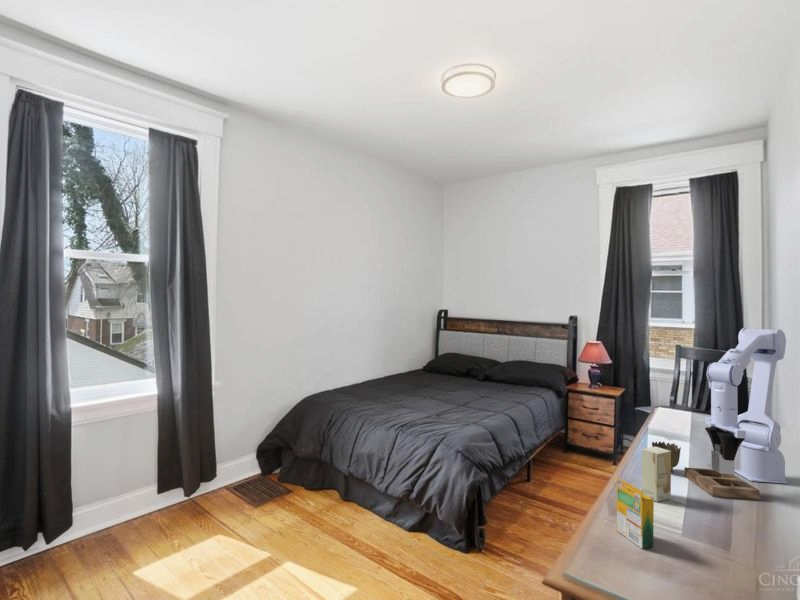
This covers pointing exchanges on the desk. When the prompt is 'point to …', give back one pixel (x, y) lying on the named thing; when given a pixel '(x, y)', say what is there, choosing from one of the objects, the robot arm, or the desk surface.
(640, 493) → the crayon box
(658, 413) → the desk surface
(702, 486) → the socket board
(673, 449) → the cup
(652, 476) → the skincare box
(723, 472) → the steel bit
